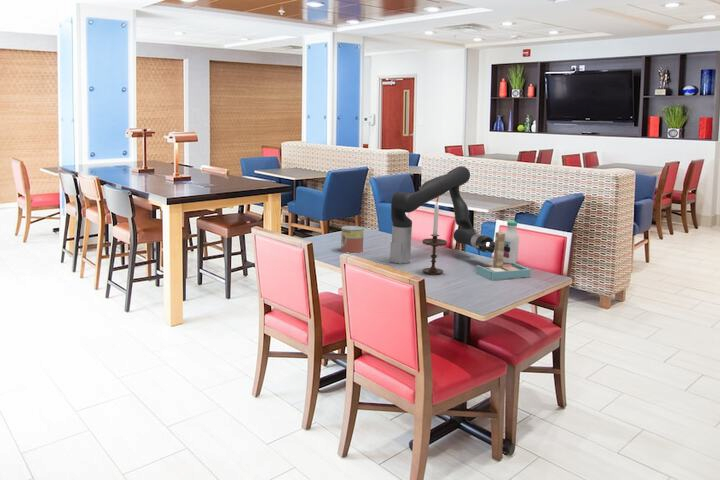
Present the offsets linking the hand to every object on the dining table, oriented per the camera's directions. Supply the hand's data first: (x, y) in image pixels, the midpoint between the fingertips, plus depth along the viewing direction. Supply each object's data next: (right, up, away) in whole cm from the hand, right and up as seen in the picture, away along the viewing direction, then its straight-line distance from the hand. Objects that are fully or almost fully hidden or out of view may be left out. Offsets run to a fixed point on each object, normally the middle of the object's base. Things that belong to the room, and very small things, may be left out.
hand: (501, 250), depth 288 cm
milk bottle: (+9, -6, +25) cm, 27 cm away
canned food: (-68, -1, +37) cm, 77 cm away
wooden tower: (-1, -10, +4) cm, 11 cm away
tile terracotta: (+5, -11, +2) cm, 12 cm away
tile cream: (-2, -12, -1) cm, 12 cm away
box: (+1, -11, 0) cm, 11 cm away
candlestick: (-31, -10, +1) cm, 32 cm away
